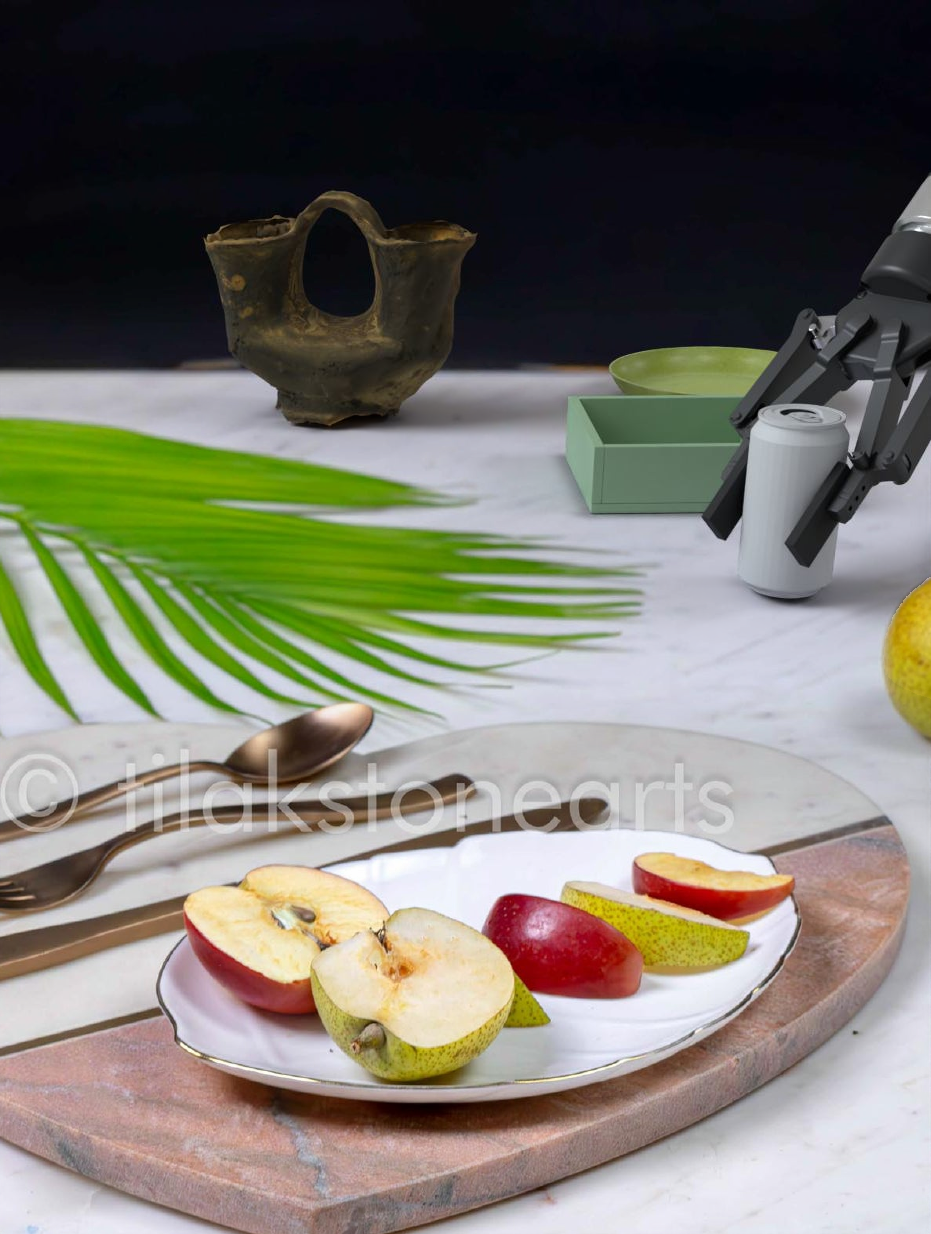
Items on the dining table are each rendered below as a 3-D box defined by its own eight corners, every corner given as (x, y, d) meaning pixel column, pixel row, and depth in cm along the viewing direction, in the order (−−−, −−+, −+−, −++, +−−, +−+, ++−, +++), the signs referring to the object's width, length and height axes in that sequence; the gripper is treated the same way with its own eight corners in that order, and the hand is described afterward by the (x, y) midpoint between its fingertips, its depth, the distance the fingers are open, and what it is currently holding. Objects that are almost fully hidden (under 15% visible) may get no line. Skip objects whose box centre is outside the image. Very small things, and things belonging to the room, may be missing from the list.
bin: (745, 455, 146) (751, 394, 144) (789, 511, 132) (797, 445, 130) (565, 457, 146) (568, 396, 144) (590, 513, 132) (594, 447, 130)
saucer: (861, 396, 164) (865, 362, 163) (769, 443, 150) (773, 407, 148) (669, 366, 175) (672, 335, 174) (566, 408, 161) (568, 374, 159)
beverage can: (810, 567, 120) (829, 398, 115) (845, 599, 114) (868, 422, 109) (723, 572, 119) (739, 402, 114) (754, 604, 114) (772, 427, 108)
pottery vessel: (483, 409, 160) (489, 188, 151) (460, 440, 151) (466, 206, 142) (230, 394, 166) (222, 179, 157) (194, 422, 156) (182, 196, 147)
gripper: (1082, 319, 111) (894, 611, 109) (840, 277, 124) (669, 536, 122) (1051, 243, 105) (853, 548, 104) (801, 208, 119) (623, 477, 117)
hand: (754, 541), depth 113 cm, fingers closed on beverage can, 6 cm apart
